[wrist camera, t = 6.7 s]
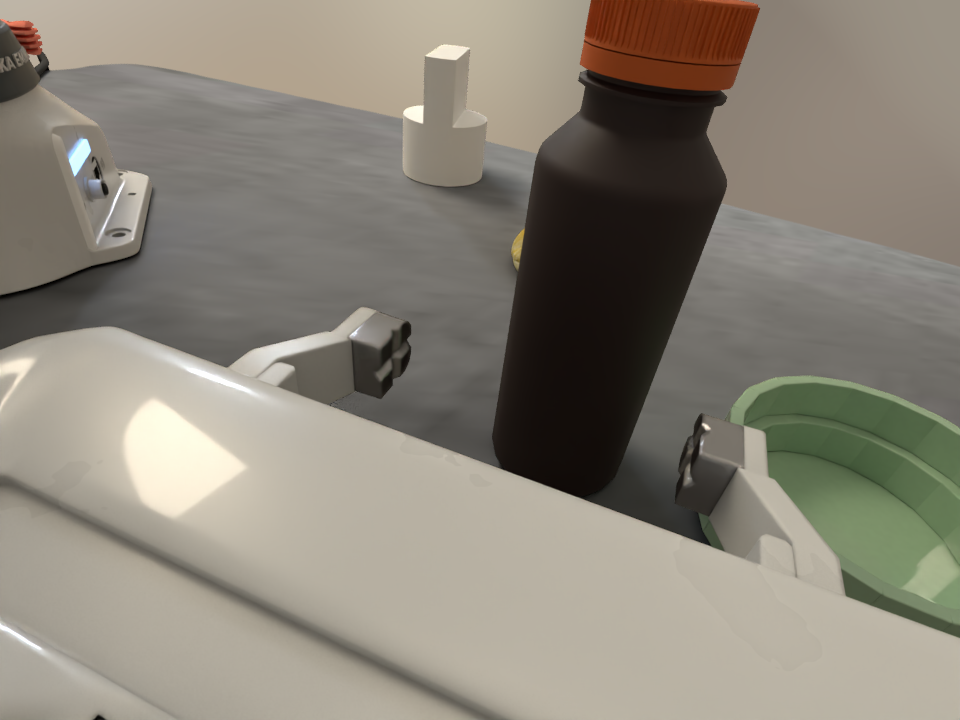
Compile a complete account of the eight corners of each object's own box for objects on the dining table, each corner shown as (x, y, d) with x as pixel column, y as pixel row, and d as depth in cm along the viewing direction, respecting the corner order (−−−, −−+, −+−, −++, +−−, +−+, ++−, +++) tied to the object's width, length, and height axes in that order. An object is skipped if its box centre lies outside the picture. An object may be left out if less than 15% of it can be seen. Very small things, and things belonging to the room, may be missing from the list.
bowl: (648, 451, 29) (678, 381, 26) (848, 436, 31) (896, 370, 28) (800, 722, 19) (878, 660, 16) (1074, 667, 21) (1186, 604, 18)
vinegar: (472, 474, 26) (538, -20, 14) (512, 392, 31) (585, -22, 19) (608, 521, 25) (812, 16, 13) (626, 427, 30) (783, 4, 18)
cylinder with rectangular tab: (413, 155, 64) (415, 40, 57) (486, 165, 64) (498, 51, 56) (393, 179, 57) (392, 52, 50) (476, 191, 57) (487, 64, 49)
